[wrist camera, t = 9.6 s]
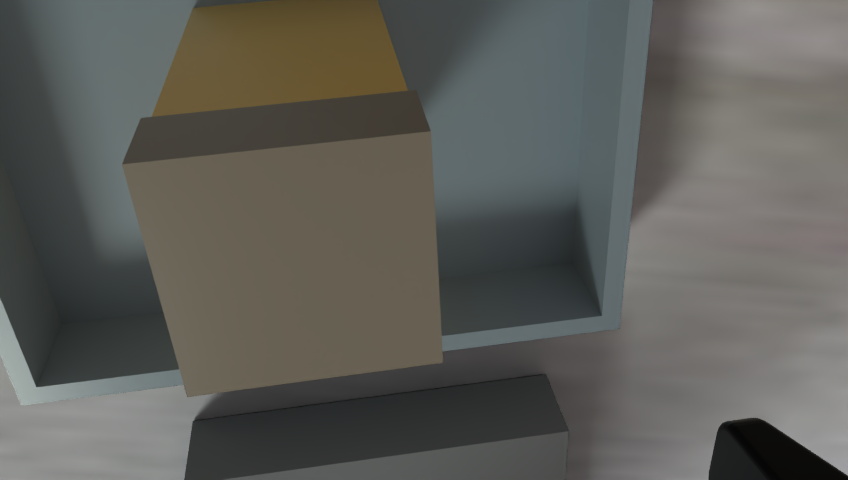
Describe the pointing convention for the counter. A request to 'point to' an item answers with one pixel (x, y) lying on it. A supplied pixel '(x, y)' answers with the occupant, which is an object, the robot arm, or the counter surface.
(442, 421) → the grey square socket tray
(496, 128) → the parts tray
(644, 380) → the counter surface
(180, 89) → the block
